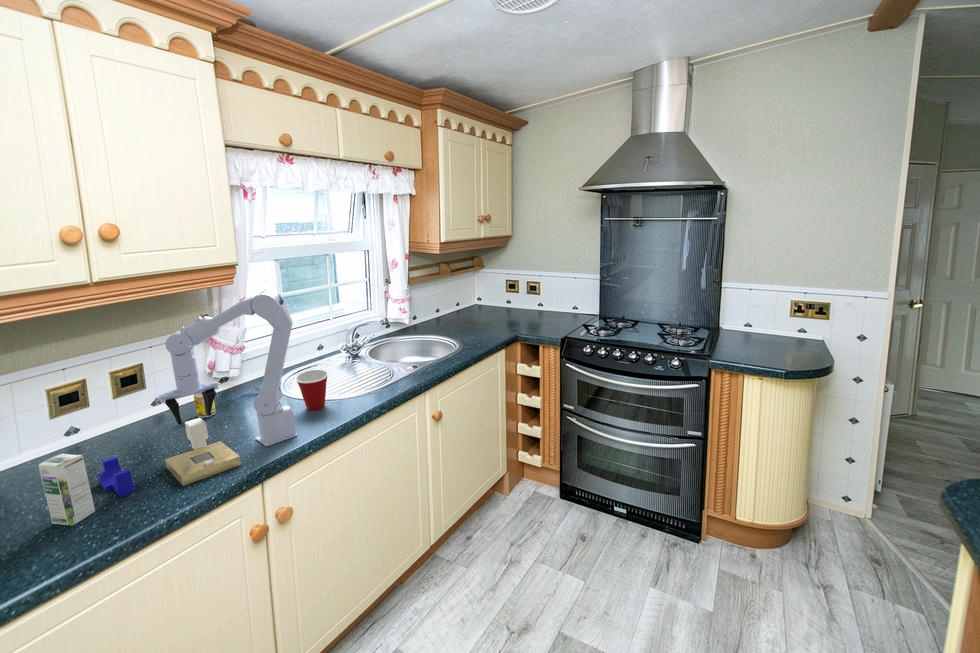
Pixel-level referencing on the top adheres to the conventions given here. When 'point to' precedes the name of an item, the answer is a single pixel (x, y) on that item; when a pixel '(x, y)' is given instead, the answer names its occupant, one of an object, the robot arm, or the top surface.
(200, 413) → the supplement bottle
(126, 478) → the cable clip
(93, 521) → the top surface
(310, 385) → the plastic cup
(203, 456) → the panel
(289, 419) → the robot arm
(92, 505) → the syrup box
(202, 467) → the socket plate
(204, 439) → the plug
